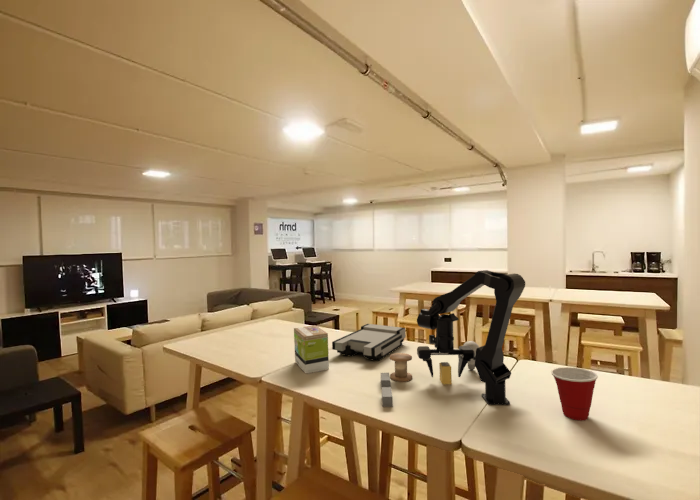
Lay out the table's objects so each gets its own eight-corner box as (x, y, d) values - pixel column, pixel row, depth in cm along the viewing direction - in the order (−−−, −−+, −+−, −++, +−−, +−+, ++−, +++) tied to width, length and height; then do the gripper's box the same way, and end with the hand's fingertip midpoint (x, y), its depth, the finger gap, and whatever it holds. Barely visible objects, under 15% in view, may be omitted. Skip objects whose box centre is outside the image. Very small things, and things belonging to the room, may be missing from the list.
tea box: (294, 362, 143) (293, 327, 143) (316, 358, 147) (316, 324, 147) (305, 374, 129) (303, 335, 129) (329, 369, 133) (328, 332, 133)
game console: (332, 357, 148) (332, 339, 148) (367, 339, 176) (367, 323, 176) (375, 365, 138) (374, 345, 137) (405, 344, 165) (405, 327, 165)
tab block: (451, 384, 117) (451, 365, 117) (442, 384, 117) (441, 365, 117) (448, 379, 121) (448, 361, 121) (439, 379, 121) (439, 361, 121)
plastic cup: (554, 402, 102) (554, 362, 102) (599, 413, 95) (599, 370, 95) (548, 417, 93) (547, 373, 93) (596, 430, 87) (596, 383, 86)
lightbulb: (477, 367, 132) (477, 338, 132) (482, 373, 126) (481, 343, 126) (461, 367, 133) (460, 338, 132) (465, 373, 127) (464, 343, 126)
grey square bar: (392, 406, 102) (392, 396, 102) (382, 406, 102) (382, 396, 102) (389, 381, 121) (389, 372, 121) (380, 381, 121) (380, 372, 121)
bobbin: (413, 381, 120) (413, 360, 120) (390, 381, 120) (390, 360, 120) (411, 373, 128) (410, 352, 128) (389, 373, 128) (389, 353, 128)
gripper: (465, 326, 126) (466, 368, 126) (414, 326, 127) (415, 368, 128) (474, 334, 115) (475, 380, 115) (418, 334, 116) (419, 380, 116)
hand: (445, 376), depth 119 cm, fingers open, 9 cm apart
